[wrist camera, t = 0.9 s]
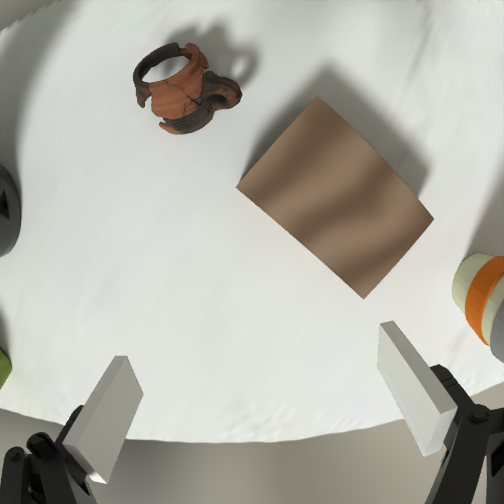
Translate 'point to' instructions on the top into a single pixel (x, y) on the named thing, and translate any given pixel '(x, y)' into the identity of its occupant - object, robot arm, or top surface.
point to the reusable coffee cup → (482, 298)
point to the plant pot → (4, 368)
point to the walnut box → (337, 197)
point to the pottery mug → (184, 90)
